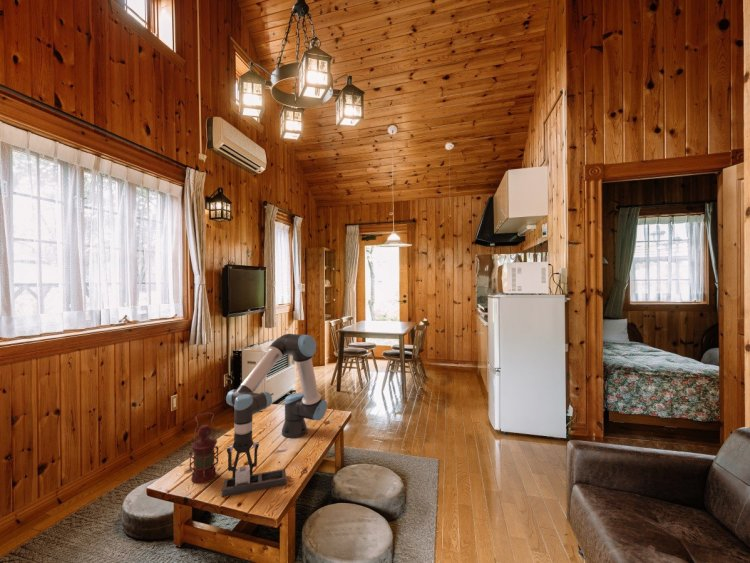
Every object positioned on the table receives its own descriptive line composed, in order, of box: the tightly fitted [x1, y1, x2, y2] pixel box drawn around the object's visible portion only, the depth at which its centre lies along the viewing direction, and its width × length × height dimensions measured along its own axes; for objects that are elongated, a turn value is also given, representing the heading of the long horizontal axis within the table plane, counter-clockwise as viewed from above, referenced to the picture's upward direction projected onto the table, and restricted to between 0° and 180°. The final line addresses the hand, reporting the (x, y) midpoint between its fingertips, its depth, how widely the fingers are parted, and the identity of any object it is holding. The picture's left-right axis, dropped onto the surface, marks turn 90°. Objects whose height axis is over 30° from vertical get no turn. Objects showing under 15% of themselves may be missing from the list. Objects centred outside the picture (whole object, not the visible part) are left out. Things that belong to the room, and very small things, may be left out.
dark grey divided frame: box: [221, 468, 287, 498], centre depth 149 cm, size 26×8×3 cm, turn 109°
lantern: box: [189, 412, 219, 484], centre depth 156 cm, size 12×12×30 cm
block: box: [236, 465, 249, 486], centre depth 147 cm, size 4×4×7 cm
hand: (242, 483), depth 147 cm, fingers closed on block, 4 cm apart
